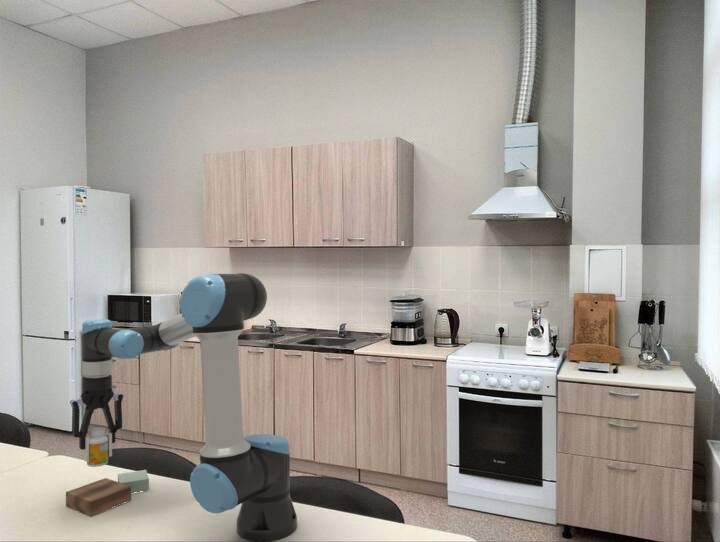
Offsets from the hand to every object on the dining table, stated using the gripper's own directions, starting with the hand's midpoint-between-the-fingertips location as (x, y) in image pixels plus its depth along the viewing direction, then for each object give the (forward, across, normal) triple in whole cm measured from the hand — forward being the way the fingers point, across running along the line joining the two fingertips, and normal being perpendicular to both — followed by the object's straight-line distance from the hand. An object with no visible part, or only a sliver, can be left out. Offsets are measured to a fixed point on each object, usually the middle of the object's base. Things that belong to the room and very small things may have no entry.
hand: (97, 457), depth 158 cm
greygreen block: (+13, -11, -4) cm, 18 cm away
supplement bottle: (+2, 0, 0) cm, 2 cm away
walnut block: (+13, 0, 0) cm, 13 cm away
